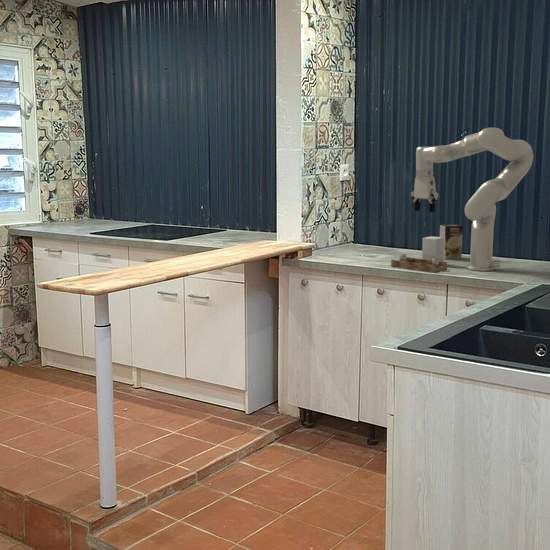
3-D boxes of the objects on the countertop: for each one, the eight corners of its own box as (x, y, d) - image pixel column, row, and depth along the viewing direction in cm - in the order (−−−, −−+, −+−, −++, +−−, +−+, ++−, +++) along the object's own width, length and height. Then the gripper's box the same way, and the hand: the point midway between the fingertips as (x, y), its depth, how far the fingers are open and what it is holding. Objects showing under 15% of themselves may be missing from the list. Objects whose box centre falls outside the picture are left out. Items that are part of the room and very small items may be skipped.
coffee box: (444, 259, 374) (445, 226, 371) (438, 257, 380) (439, 224, 377) (462, 258, 377) (463, 225, 374) (455, 256, 383) (456, 223, 380)
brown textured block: (446, 269, 349) (447, 257, 348) (433, 272, 341) (434, 260, 340) (404, 263, 364) (404, 252, 363) (391, 267, 356) (391, 255, 355)
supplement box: (444, 264, 361) (444, 237, 359) (435, 266, 356) (436, 239, 354) (430, 262, 366) (430, 235, 364) (421, 264, 361) (422, 237, 359)
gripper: (443, 173, 353) (443, 212, 356) (417, 173, 368) (417, 209, 371) (431, 174, 349) (431, 213, 352) (405, 174, 364) (405, 211, 367)
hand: (424, 211), depth 361 cm, fingers open, 9 cm apart
